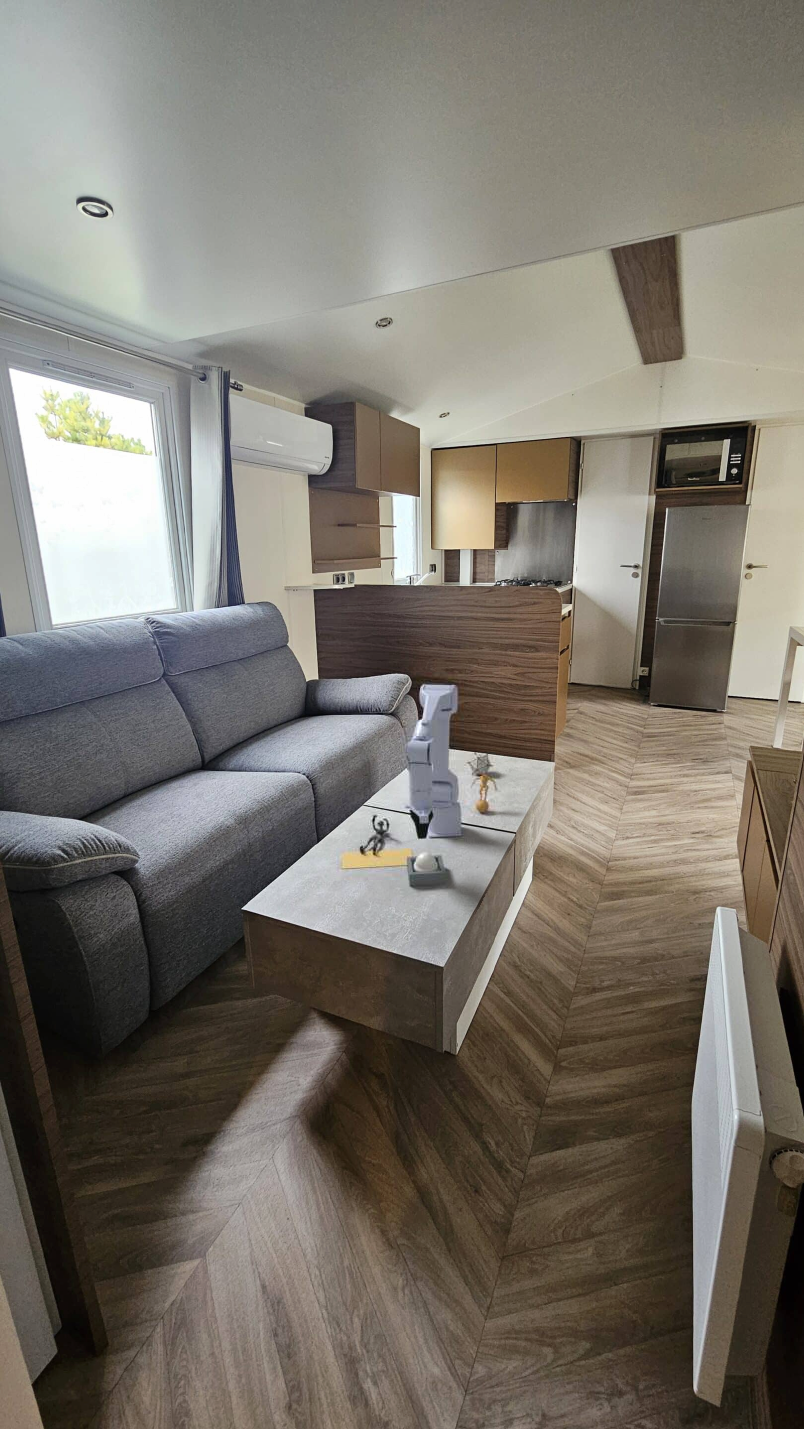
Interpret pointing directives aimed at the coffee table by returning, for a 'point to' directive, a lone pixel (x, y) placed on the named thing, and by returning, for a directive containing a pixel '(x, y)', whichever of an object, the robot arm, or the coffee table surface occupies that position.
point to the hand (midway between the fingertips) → (421, 837)
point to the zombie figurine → (378, 835)
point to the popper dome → (425, 863)
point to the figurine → (483, 804)
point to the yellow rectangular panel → (376, 858)
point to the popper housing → (426, 873)
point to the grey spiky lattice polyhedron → (480, 764)
